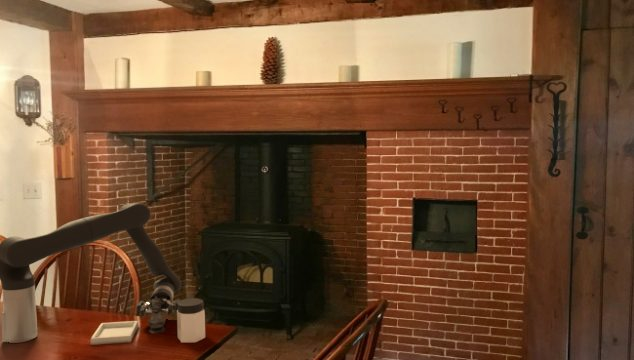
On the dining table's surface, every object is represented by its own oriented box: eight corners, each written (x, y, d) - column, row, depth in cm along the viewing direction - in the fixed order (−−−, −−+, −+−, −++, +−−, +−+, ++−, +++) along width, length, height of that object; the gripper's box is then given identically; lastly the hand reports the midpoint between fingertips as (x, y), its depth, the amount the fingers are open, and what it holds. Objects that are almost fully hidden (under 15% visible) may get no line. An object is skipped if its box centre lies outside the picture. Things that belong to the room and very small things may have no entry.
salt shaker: (155, 335, 173) (153, 299, 172) (144, 331, 177) (143, 296, 176) (169, 329, 178) (168, 295, 177) (159, 326, 181) (158, 292, 180)
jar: (208, 340, 168) (207, 303, 167) (182, 345, 164) (181, 307, 164) (199, 331, 176) (198, 296, 175) (175, 335, 172) (174, 300, 171)
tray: (90, 344, 165) (90, 338, 165) (101, 328, 179) (101, 323, 179) (130, 342, 167) (130, 336, 167) (138, 326, 181) (137, 320, 181)
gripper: (141, 289, 190) (133, 303, 174) (181, 287, 193) (177, 300, 177) (142, 309, 191) (134, 324, 175) (182, 307, 193) (178, 322, 177)
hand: (156, 312), depth 176 cm, fingers open, 8 cm apart
